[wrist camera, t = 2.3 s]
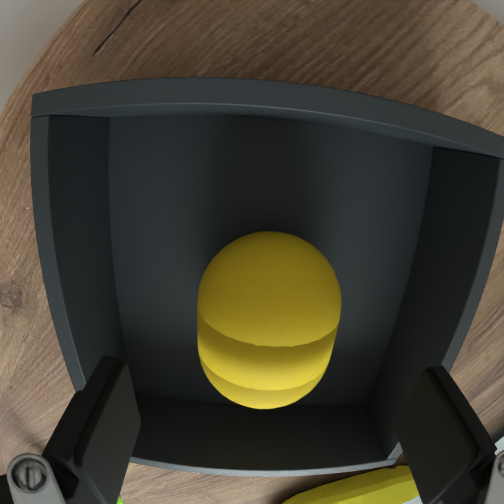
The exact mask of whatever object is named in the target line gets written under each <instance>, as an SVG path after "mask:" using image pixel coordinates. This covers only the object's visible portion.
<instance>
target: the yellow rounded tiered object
mask: <svg viewBox="0 0 504 504" xmlns="http://www.w3.org/2000/svg"><path fill="white" fill-rule="evenodd" d="M341 302H342V300H341V291H340V286H339V283H338V280H337V277H336V275H335V272H334V270H333V268H332V266H331V265H330V263H329V262H328V260H327V259H326V258H325V256H324V255H323V254H322V253H321V252H320V251H319V250H318V249H317V248H316V247H314V246H313V245H312V244H310V243H308V242H307V241H305V240H303V239H301V238H299V237H297V236H295V235H291V234H287V233H282V232H274V231H263V232H255V233H252V234H249V235H246V236H243V237H240V238H238V239H236V240H234V241H233V242H231V243H229V244H228V245H226V246H225V247H224V248H223V249H222V250H221V251H220V252H219V253H218V254H217V255H216V256H215V257H214V258H213V259H212V260H211V262H210V264H209V265H208V267H207V268H206V270H205V272H204V274H203V276H202V279H201V282H200V285H199V291H198V300H197V335H198V352H199V358H200V361H201V365H202V368H203V370H204V372H205V374H206V376H207V377H208V379H209V381H210V382H211V383H212V384H213V386H214V387H215V388H216V389H217V390H218V391H219V392H220V393H221V394H222V395H224V396H225V397H227V398H228V399H230V400H231V401H234V402H236V403H238V404H241V405H243V406H246V407H250V408H257V409H272V408H278V407H282V406H286V405H289V404H291V403H294V402H296V401H297V400H299V399H300V398H302V397H303V396H305V395H306V394H308V393H309V392H310V391H311V390H312V389H313V388H314V387H315V386H316V384H317V383H318V382H319V381H320V379H321V378H322V376H323V374H324V372H325V370H326V368H327V365H328V363H329V360H330V356H331V353H332V349H333V345H334V341H335V337H336V333H337V329H338V325H339V321H340V313H341Z"/></svg>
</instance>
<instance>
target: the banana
mask: <svg viewBox="0 0 504 504" xmlns="http://www.w3.org/2000/svg"><path fill="white" fill-rule="evenodd" d="M417 496H419V492H418V490H417V487H416V484H415V482H414V479H413V476H412V474H411V471H410V468H409V466H403V465H401V466H395V467H389V468H383V469H379V470H375V471H371V472H367V473H363V474H359V475H355V476H352V477H348V478H345V479H342V480H339V481H335V482H332V483H328V484H325V485H321V486H319V487H316V488H313V489H310V490H308V491H305V492H302V493H299V494H297V495H295V496H293V497H291V498H289V499H287V500H286V501H284V502H283V503H282V504H401V503H404V502H407V501H409V500H411V499H413V498H415V497H417Z"/></svg>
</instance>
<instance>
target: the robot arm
mask: <svg viewBox="0 0 504 504" xmlns="http://www.w3.org/2000/svg"><path fill="white" fill-rule="evenodd" d="M140 424H141V419H140V415H139V411H138V407H137V403H136V398H135V394H134V390H133V385H132V380H131V376H130V371H129V366H128V364H127V363H124V362H123V359H122V358H121V357H115V356H109V355H103V356H102V357H101V359H100V361H99V362H98V364H97V366H96V367H95V369H94V371H93V373H92V374H91V376H90V378H89V379H88V381H87V383H86V385H85V387H84V388H83V390H79V391H77V392H76V393H75V394H74V396H73V398H72V399H71V401H70V403H69V405H68V406H67V408H66V410H65V412H64V414H63V415H62V417H61V419H60V421H59V423H58V425H57V426H56V428H55V430H54V432H53V434H52V436H51V438H50V440H49V441H48V443H47V445H46V447H45V449H44V451H43V453H42V455H41V456H40V455H38V454H34V453H23V454H20V455H18V456H16V457H15V458H14V459H12V460H11V462H10V463H9V465H8V468H7V474H5V475H1V476H0V504H117V501H118V498H119V494H120V491H121V487H122V484H123V481H124V477H125V474H126V471H127V467H128V464H129V461H130V458H131V454H132V451H133V448H134V445H135V442H136V439H137V435H138V432H139V429H140ZM395 433H396V435H397V438H398V440H399V443H400V445H401V448H402V450H403V453H404V455H405V458H406V461H407V463H408V466H409V468H410V471H411V474H412V476H413V479H414V482H415V484H416V487H417V490H418V492H419V495H420V498H421V500H422V503H423V504H504V450H503V451H501V452H499V453H498V454H497V455H495V453H494V452H495V451H496V450H497V447H496V446H495V444H494V442H493V441H492V439H491V437H490V436H489V434H488V432H487V431H486V429H485V428H484V426H483V424H482V423H481V421H480V420H479V418H478V416H477V415H476V413H475V412H474V410H473V409H472V407H471V406H470V404H469V403H468V401H467V399H466V398H465V396H464V395H463V393H462V392H461V390H460V389H459V387H458V386H457V385H456V383H455V382H454V380H453V379H452V377H451V376H450V374H449V373H448V372H447V370H446V369H445V367H444V366H442V365H439V366H430V367H427V368H425V370H424V371H423V372H421V374H420V376H419V378H418V380H417V382H416V384H415V386H414V388H413V390H412V392H411V395H410V397H409V399H408V401H407V403H406V404H405V406H404V408H403V410H402V412H401V414H400V416H399V418H398V420H397V421H396V424H395Z"/></svg>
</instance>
